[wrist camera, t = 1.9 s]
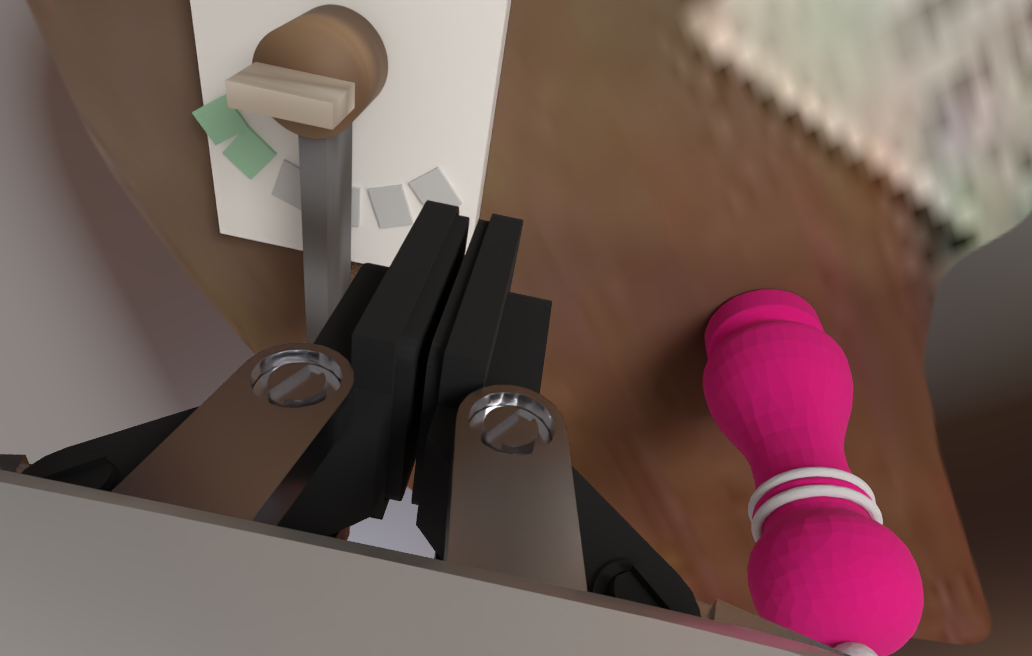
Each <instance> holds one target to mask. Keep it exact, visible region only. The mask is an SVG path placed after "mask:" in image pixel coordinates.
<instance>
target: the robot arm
mask: <svg viewBox="0 0 1032 656" xmlns="http://www.w3.org/2000/svg"><path fill="white" fill-rule="evenodd" d="M469 220H470V219H469V217H466V216H461V215H459V207H458V206H454V205H449V204H444V203H440V202H435V201H430V200H427V201H426V202H425V204H424V206H423V208H422V209H421V211H420V213H419V215H418V217H417V218H416V220H415V222H414V224H413V226H412V227H411V229H410V231H409V233H408V235H407V236H406V238H405V240H404V242H403V243H402V245H401V247H400V249H399V251H398V252H397V254H396V256H395V258H394V260H393V261H392V263H391V265H390V267H387V266H382V265H377V264H372V263H364V265H363V266H362V267H361V268H360V270H359V272H358V273H357V275H356V276H355V278H354V279H353V281H352V283H351V284H350V286H349V287H348V289H347V291H346V292H345V294H344V295H343V297H342V299H341V300H340V302H339V303H338V305H337V306H336V308H335V310H334V311H333V313H332V314H331V316H330V318H329V319H328V321H327V322H326V324H325V326H324V327H323V329H322V330H321V332H320V333H319V335H318V337H317V338H316V340H315V341H314V343H313V344H312V343H287V344H281V345H276V346H273V347H270V348H268V349H265V350H263V351H260V352H258V353H257V354H255V355H254V356H253V357H251V358H250V359H248V360H247V361H246V362H245V363H244V364H243V365H242V366H241V367H240V368H239V369H238V370H237V371H236V372H235V373H234V374H232V375H231V376H230V378H228V379H227V380H226V381H225V382H224V383H223V384H222V385H221V386H220V387H219V388H218V389H217V390H216V391H215V392H214V393H213V394H212V395H211V396H210V397H209V398H208V399H207V400H206V401H204V402H203V404H201V405H200V406H199V407H196V408H192V409H189V410H186V411H183V412H179V413H176V414H173V415H170V416H166V417H163V418H160V419H157V420H154V421H150V422H148V423H144V424H141V425H138V426H134V427H132V428H128V429H125V430H122V431H119V432H115V433H112V434H109V435H105V436H102V437H99V438H96V439H93V440H90V441H86V442H83V443H80V444H77V445H74V446H70V447H67V448H64V449H62V450H59V451H57V452H54V453H52V454H50V455H47V456H45V457H43V458H41V459H40V460H38V461H37V462H35V463H34V464H29V462H28V460H27V457H26V455H12V454H0V656H851V655H848V654H846V653H844V652H841V651H839V650H837V649H834V648H832V647H829V646H827V645H825V644H822V643H820V642H818V641H815V640H813V639H811V638H808V637H806V636H804V635H801V634H799V633H796V632H794V631H792V630H789V629H787V628H785V627H782V626H780V625H778V624H775V623H773V622H771V621H768V620H766V619H764V618H761V617H759V616H756V615H754V614H752V613H749V612H747V611H745V610H742V609H740V608H738V607H735V606H733V605H731V604H728V603H726V602H724V601H721V600H719V599H717V600H716V601H715V603H714V604H713V606H710V605H708V604H706V603H703V602H701V601H699V600H696V599H695V597H694V595H693V592H692V591H691V590H690V588H689V587H688V586H687V584H686V583H685V582H684V581H683V579H682V578H681V577H680V575H679V574H678V573H677V572H676V571H675V570H674V569H673V568H672V567H671V566H670V565H669V564H668V563H667V562H666V561H665V560H664V559H663V558H662V557H661V556H660V555H659V554H658V553H657V552H656V551H655V550H654V549H653V548H652V547H651V546H650V545H649V544H648V543H647V542H646V541H645V540H644V539H643V538H642V537H641V536H640V535H639V534H638V533H637V532H636V531H635V530H634V529H633V528H632V527H631V526H630V525H629V524H628V522H627V521H626V520H625V519H624V518H623V517H622V516H621V515H620V514H619V513H618V512H617V511H616V510H615V509H614V508H613V507H612V506H611V505H610V504H609V503H608V502H607V501H606V500H605V499H604V498H603V497H602V496H601V495H600V494H599V493H598V492H597V491H596V490H595V489H594V488H593V487H592V486H591V485H590V484H589V483H588V482H587V481H586V480H585V479H584V478H583V477H582V476H581V475H580V474H579V473H578V472H577V471H576V470H575V469H574V467H573V466H572V465H571V458H570V450H569V443H568V435H567V427H566V424H565V421H564V418H563V415H562V414H561V413H560V411H559V410H558V409H557V407H556V406H555V405H554V404H553V403H552V402H550V401H549V400H548V399H546V398H545V397H544V396H543V395H541V394H540V387H541V379H542V372H543V365H544V357H545V350H546V343H547V335H548V328H549V321H550V313H551V306H552V301H550V300H545V299H540V298H535V297H531V296H526V295H521V294H516V293H511V292H510V288H511V283H512V278H513V273H514V267H515V262H516V257H517V252H518V247H519V242H520V237H521V231H522V226H523V220H521V219H516V218H511V217H507V216H502V215H497V214H492V216H491V219H490V221H485V220H480V219H479V220H478V222H477V225H476V227H475V230H474V233H473V235H472V238H471V241H470V243H469V246H468V249H467V251H466V244H467V237H468V230H469ZM465 251H466V254H465ZM415 460H416V465H415V474H414V483H413V492H412V504H416V505H418V513H417V521H416V525H417V527H418V528H419V529H420V531H421V532H422V533H423V535H424V536H425V537H426V539H427V540H428V542H429V543H430V545H431V546H432V547H433V549H434V550H435V556H434V559H432V558H428V557H422V556H418V555H413V554H408V553H403V552H399V551H394V550H389V549H384V548H380V547H375V546H370V545H365V544H360V543H356V542H351V541H347V539H348V537H349V533H350V526H352V525H354V524H356V523H358V522H360V521H362V520H364V519H367V518H369V517H371V518H376V519H381V520H382V519H383V516H384V513H385V510H386V507H387V504H388V502H389V499H392V500H397V501H401V500H402V498H403V496H404V493H405V490H406V487H407V484H408V481H409V478H410V475H411V472H412V469H413V466H414V463H415Z"/></svg>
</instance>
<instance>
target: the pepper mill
mask: <svg viewBox="0 0 1032 656" xmlns="http://www.w3.org/2000/svg"><path fill="white" fill-rule="evenodd" d="M705 347H706V352H707V358H708V361H707V364H706V366H705V369H704V373H703V391H704V395H705V399H706V402H707V405H708V408H709V411H710V414H711V415H712V417H713V419H714V420H715V422H716V423H717V425H718V427H719V428H720V430H721V431H722V432H723V433H724V435H725V436H726V437H727V438H728V439H729V440H730V441H731V442H732V443H733V444H734V445H735V446H736V447H737V449H738V450H739V451H740V452H741V453H742V454H743V455H744V456H745V458H746V459H747V461H748V462H749V464H750V466H751V469H752V473H753V477H754V480H755V486H756V491H755V492H754V493H753V495H752V497H751V499H750V502H749V505H748V514H749V518H750V520H751V523H752V527H751V529H752V534H753V537H754V540H755V541H756V544H755V546H754V548H753V550H752V552H751V554H750V558H749V563H748V567H747V570H748V585H749V589H750V593H751V596H752V599H753V602H754V605H755V608H756V610H757V612H758V613H759V615H760V617H761V618H764V619H766V620H768V621H771V622H773V623H775V624H778V625H780V626H782V627H785V628H787V629H789V630H792V631H794V632H796V633H799V634H801V635H804V636H806V637H808V638H811V639H813V640H815V641H818V642H820V643H822V644H825V645H827V646H829V647H832V648H834V649H837V650H839V651H841V652H844V653H846V654H848V655H851V656H888V655H890V654H892V653H894V652H895V651H897V650H898V649H899V648H901V647H902V646H903V645H904V644H905V643H906V642H907V641H908V640H909V639H910V638H911V637H912V636H913V634H914V633H915V630H916V628H917V626H918V624H919V622H920V619H921V615H922V610H923V605H924V600H923V587H922V580H921V577H920V574H919V571H918V568H917V565H916V562H915V560H914V558H913V557H912V555H911V553H910V551H909V549H908V547H907V546H906V545H905V544H904V543H903V542H902V541H901V540H900V539H899V538H898V537H897V536H896V535H895V534H894V533H893V532H892V531H891V530H890V529H888V528H887V527H885V526H884V525H883V521H882V515H881V512H880V510H879V508H878V507H877V505H876V502H875V497H874V494H873V492H872V490H871V489H870V487H869V486H868V485H867V484H866V483H865V482H864V481H863V480H862V479H860V478H858V477H857V476H855V475H853V474H852V473H851V471H850V470H849V468H848V465H847V461H846V458H845V454H844V438H845V433H846V429H847V425H848V421H849V417H850V413H851V410H852V402H853V382H852V375H851V371H850V368H849V364H848V361H847V358H846V356H845V354H844V352H843V350H842V349H841V348H840V346H839V345H838V344H837V343H836V342H835V340H834V339H832V338H831V337H830V336H829V335H827V334H826V333H824V330H823V328H822V325H821V323H820V320H819V318H818V316H817V314H816V312H815V310H814V309H813V308H812V307H811V305H810V304H809V303H808V302H807V301H805V300H804V299H803V298H801V297H800V296H798V295H796V294H793V293H791V292H787V291H783V290H775V289H761V290H756V291H750V292H746V293H743V294H741V295H739V296H736V297H734V298H732V299H731V300H729V301H727V302H726V303H724V304H723V305H722V306H721V307H720V308H719V309H718V310H717V311H716V312H715V313H714V314H713V315H712V317H711V318H710V320H709V323H708V325H707V327H706V331H705Z"/></svg>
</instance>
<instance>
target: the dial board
mask: <svg viewBox="0 0 1032 656" xmlns="http://www.w3.org/2000/svg"><path fill="white" fill-rule="evenodd" d="M190 4H191V12H192V19H193V27H194V35H195V42H196V50H197V58H198V66H199V73H200V81H201V89H202V97H203V104H204V106H202V107H201V108H199V109H197V110H195V111H193V112H192V114H193V115H194V117H195V118H196V119H197V121H198V122H199V123H200V125H201V126H202V128H203V129H204V130H205V132H206V133H207V135H208V143H209V151H210V158H211V166H212V174H213V181H214V189H215V197H216V205H217V212H218V220H219V228H220V233H222V234H227V235H232V236H236V237H241V238H246V239H250V240H255V241H260V242H264V243H269V244H274V245H278V246H283V247H288V248H293V249H297V250H302V251H303V239H302V214H301V189H300V165H299V140H298V135H297V134H295V133H293V132H291V131H289V130H287V129H286V128H284V127H283V126H281V125H280V124H279V123H278V122H277V121H275V120H274V119H273V117H271V116H266V115H261V114H257V113H252V112H247V111H242V110H238V109H233V108H228V104H227V94H226V85H225V80H226V79H228V78H230V77H231V76H233V75H235V74H236V73H238V72H240V71H241V70H243V69H245V68H246V67H248V66H250V65H251V64H252V59H253V55H254V52H255V50H256V47H257V45H258V44H259V42H260V41H261V40H262V39H263V37H264V36H265V35H267V34H268V33H269V32H271V31H273V30H274V29H276V28H278V27H280V26H282V25H284V24H285V23H287V22H289V21H291V20H293V19H295V18H296V17H298V16H300V15H302V14H304V13H306V12H307V11H309V10H311V9H313V8H315V7H318V6H321V5H327V4H334V5H341V6H344V7H347V8H350V9H352V10H354V11H356V12H357V13H359V14H360V15H362V16H363V17H364V18H366V19H367V20H368V21H369V22H370V23H371V24H372V26H373V27H374V28H375V29H376V31H377V32H378V34H379V35H380V37H381V39H382V41H383V43H384V46H385V49H386V53H387V58H388V75H387V79H386V82H385V85H384V87H383V89H382V91H381V92H380V93H379V95H378V96H377V97H376V98H375V99H374V100H373V101H372V102H371V103H370V104H369V105H368V106H367V108H366V109H365V110H364V111H363V112H362V113H361V114H360V115H359V116H358V117H357V118H356V119H355V120H354V121H353V122H352V203H351V261H353V262H358V263H363V264H364V263H372V264H377V265H382V266H387V267H390V265H391V263H392V261H393V260H394V258H395V256H396V254H397V252H398V251H399V249H400V247H401V245H402V243H403V242H404V240H405V238H406V236H407V235H408V233H409V231H410V229H411V227H412V226H413V224H414V222H415V220H416V218H417V217H418V215H419V213H420V211H421V209H422V208H423V206H424V204H425V202H426V201H427V200H430V201H435V202H440V203H444V204H449V205H454V206H458V207H459V215H461V216H466V217H469V219H470V220H469V230H468V237H467V244H466V251H467V249H468V246H469V243H470V241H471V238H472V235H473V233H474V230H475V227H476V225H477V222H478V220H479V215H480V208H481V201H482V195H483V188H484V181H485V174H486V168H487V161H488V154H489V147H490V141H491V134H492V127H493V120H494V114H495V107H496V100H497V93H498V87H499V80H500V73H501V67H502V60H503V53H504V46H505V40H506V33H507V26H508V19H509V13H510V6H511V0H190ZM466 251H465V254H466Z"/></svg>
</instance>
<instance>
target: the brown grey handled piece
mask: <svg viewBox="0 0 1032 656" xmlns="http://www.w3.org/2000/svg"><path fill="white" fill-rule="evenodd" d="M387 75H388V58H387V53H386V49H385V46H384V43H383V41H382V39H381V37H380V35H379V34H378V32H377V31H376V29H375V28H374V27H373V26H372V24H371V23H370V22H369V21H368V20H367V19H366V18H364V17H363V16H362V15H360V14H359V13H357V12H356V11H354V10H352V9H350V8H347V7H344V6H341V5H334V4H327V5H321V6H318V7H315V8H313V9H311V10H309V11H307V12H306V13H304V14H302V15H300V16H298V17H296V18H295V19H293V20H291V21H289V22H287V23H285V24H284V25H282V26H280V27H278V28H276V29H274V30H273V31H271V32H269V33H268V34H267V35H265V36H264V37H263V39H262V40H261V41H260V42H259V44H258V45H257V47H256V50H255V52H254V55H253V59H252V64H251V65H250V66H248V67H246V68H245V69H243V70H241V71H240V72H238V73H236V74H235V75H233V76H231V77H230V78H228V79H226V80H225V85H226V94H227V104H228V108H233V109H238V110H242V111H247V112H252V113H257V114H261V115H266V116H271V117H273V119H274V120H275V121H277V122H278V123H279V124H280V125H281V126H283V127H284V128H286V129H287V130H289V131H291V132H293V133H295V134H297V135H298V140H299V165H300V189H301V214H302V239H303V263H304V288H305V313H306V337H307V342H308V343H314V341H315V340H316V338H317V337H318V335H319V333H320V332H321V330H322V329H323V327H324V326H325V324H326V322H327V321H328V319H329V318H330V316H331V314H332V313H333V311H334V310H335V308H336V306H337V305H338V303H339V302H340V300H341V299H342V297H343V295H344V294H345V292H346V291H347V289H348V287H349V286H350V284H351V203H352V122H353V121H354V120H355V119H356V118H357V117H358V116H359V115H360V114H361V113H362V112H363V111H364V110H365V109H366V108H367V106H368V105H369V104H370V103H371V102H372V101H373V100H374V99H375V98H376V97H377V96H378V95H379V93H380V92H381V91H382V89H383V87H384V85H385V82H386V79H387Z"/></svg>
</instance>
